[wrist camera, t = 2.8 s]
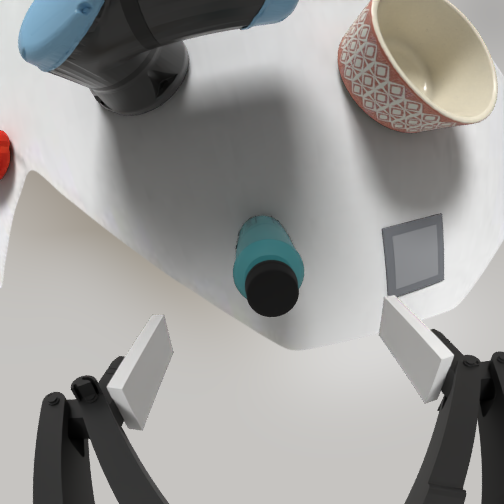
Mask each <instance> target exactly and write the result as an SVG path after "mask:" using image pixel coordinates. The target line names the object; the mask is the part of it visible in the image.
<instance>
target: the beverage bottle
mask: <svg viewBox="0 0 504 504" xmlns="http://www.w3.org/2000/svg"><path fill="white" fill-rule="evenodd" d="M249 219H250V218H249ZM243 224H244V223H243ZM238 236H239V239H238V238H237V240H238V241H237V242H238V243H237V246H236V248H235V250H236V249H237V251H236V260H235V263H234V268H233V278H234V282H235V285H236V287H237V289H238V290H239V292H240V293H241V294H242V295H243V296H244V297H245V298H246V299H247V301H248V303H249V305H250V306H251V308H252V309H253V310H254V311H255V312H257V313H258V314H260V315H263V316H267V317H276V316H281V315H283V314H285V313H287V312H288V311H290V310H291V309H292V308H293V307H294V305H295V304H296V302H297V299H298V295H299V288H300V286H301V284H302V281H303V278H304V265H303V262H302V259H301V257H300V255H299V253H298V252H297V251H296V249H295V248H294V246H293V244H292V242H291V240H290V238H289V237H290V235H289V234H288V235H287V232H285V230H284V228H283V226H282V225H281V223H279V221H277V220H275V219H274V218H272V216H271V217H269V216H255V217H254V216H253V218H251V219H250V220H247V222H246V223H245V224H244V225H243V227H242V228H241V230H240V234H239V233H238ZM292 241H293V240H292Z"/></svg>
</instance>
